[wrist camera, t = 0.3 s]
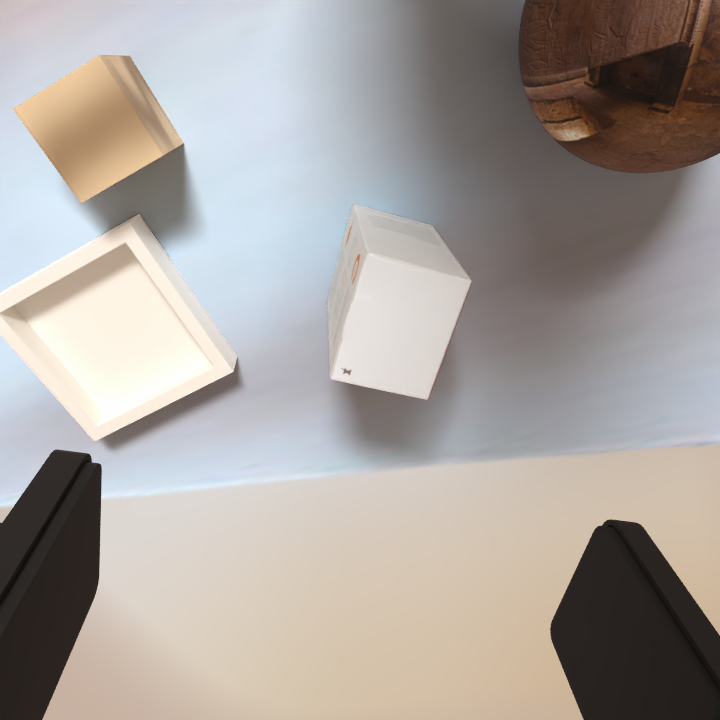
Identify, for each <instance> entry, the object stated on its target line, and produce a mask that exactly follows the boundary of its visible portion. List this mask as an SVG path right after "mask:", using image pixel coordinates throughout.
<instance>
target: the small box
mask: <svg viewBox="0 0 720 720" xmlns="http://www.w3.org/2000/svg"><path fill="white" fill-rule="evenodd" d="M471 283H472V281H471V279H470V277H469V276H468V275H467V273H466V272H465V270H464V269H463V268H462V266H461V265H460V263H459V262H458V261H457V259H456V258H455V256H454V255H453V254H452V252H451V251H450V250H449V248H448V247H447V245H446V244H445V242H444V241H443V240H442V238H441V237H440V236H439V234H438V233H437V231H436V230H435V229H434V227H433V226H432V225H430V224H426V223H422V222H418V221H415V220H411V219H407V218H404V217H400V216H396V215H392V214H389V213H385V212H381V211H378V210H374V209H371V208H367V207H363V206H360V205H355V204H353V205H352V209H351V212H350V216H349V219H348V223H347V226H346V230H345V234H344V237H343V241H342V245H341V249H340V252H339V256H338V260H337V264H336V267H335V271H334V275H333V279H332V283H331V287H330V290H329V295H328V299H327V313H328V336H329V340H328V341H329V370H330V380H334V381H339V382H345V383H349V384H354V385H358V386H363V387H368V388H372V389H377V390H382V391H387V392H391V393H397V394H401V395H406V396H411V397H416V398H420V399H425V400H428V399H429V397H430V394H431V392H432V389H433V386H434V384H435V381H436V378H437V375H438V373H439V370H440V367H441V364H442V362H443V359H444V357H445V354H446V351H447V348H448V346H449V343H450V340H451V338H452V335H453V332H454V330H455V327H456V324H457V321H458V319H459V316H460V313H461V310H462V308H463V305H464V302H465V300H466V297H467V294H468V291H469V289H470V286H471Z"/></svg>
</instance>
